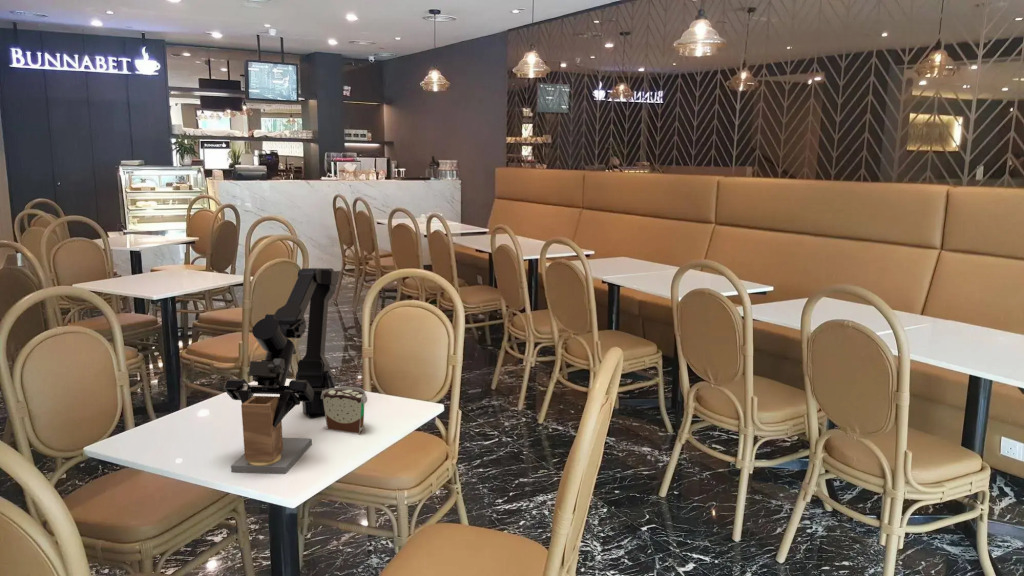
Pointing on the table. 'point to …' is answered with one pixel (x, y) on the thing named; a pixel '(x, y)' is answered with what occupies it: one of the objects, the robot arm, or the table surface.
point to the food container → (344, 409)
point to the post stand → (281, 463)
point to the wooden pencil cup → (261, 429)
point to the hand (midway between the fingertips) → (259, 425)
